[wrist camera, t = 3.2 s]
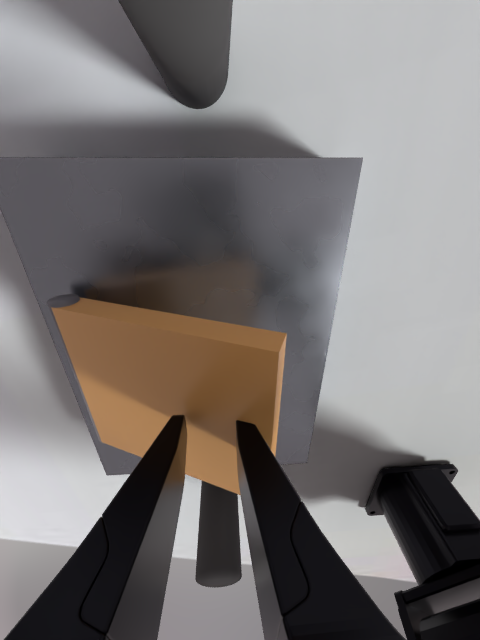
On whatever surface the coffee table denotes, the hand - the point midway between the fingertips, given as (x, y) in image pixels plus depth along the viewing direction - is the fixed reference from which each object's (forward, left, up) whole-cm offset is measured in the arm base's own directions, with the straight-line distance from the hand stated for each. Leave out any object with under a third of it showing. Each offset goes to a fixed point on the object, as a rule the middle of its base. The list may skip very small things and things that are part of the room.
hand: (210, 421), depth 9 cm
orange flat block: (0, +2, -2) cm, 2 cm away
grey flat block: (0, +1, -6) cm, 6 cm away
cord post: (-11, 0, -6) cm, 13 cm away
